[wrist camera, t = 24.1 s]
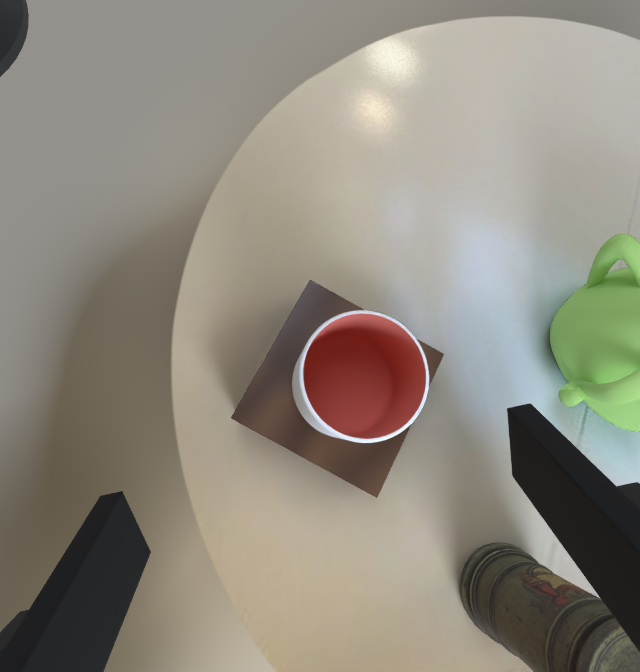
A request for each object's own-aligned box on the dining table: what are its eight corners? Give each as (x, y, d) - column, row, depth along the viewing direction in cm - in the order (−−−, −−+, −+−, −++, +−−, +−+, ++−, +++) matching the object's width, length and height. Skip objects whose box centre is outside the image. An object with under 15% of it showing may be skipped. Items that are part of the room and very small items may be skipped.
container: (522, 651, 44) (690, 803, 27) (445, 611, 44) (563, 737, 27) (551, 565, 46) (725, 653, 29) (478, 526, 46) (608, 592, 29)
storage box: (234, 418, 45) (230, 418, 40) (305, 293, 49) (310, 279, 44) (365, 489, 45) (377, 497, 41) (426, 360, 49) (444, 354, 44)
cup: (274, 413, 41) (277, 411, 31) (314, 319, 43) (328, 289, 33) (371, 453, 41) (404, 464, 31) (406, 358, 43) (446, 339, 34)
